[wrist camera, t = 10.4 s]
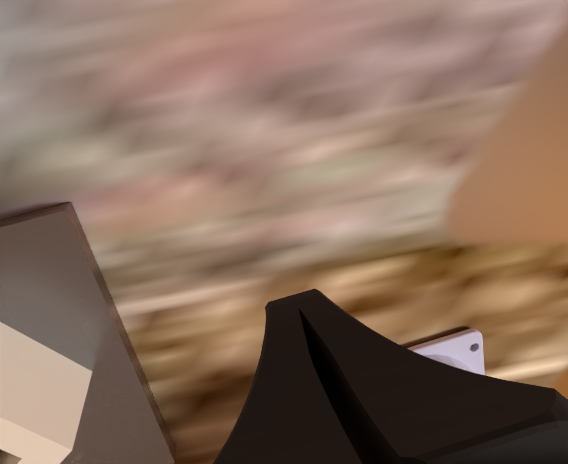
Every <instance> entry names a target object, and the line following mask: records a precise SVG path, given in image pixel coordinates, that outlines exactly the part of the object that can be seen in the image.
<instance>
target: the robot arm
mask: <svg viewBox="0 0 568 464" xmlns="http://www.w3.org/2000/svg"><path fill="white" fill-rule="evenodd" d="M265 310H266V326H265V335H264V340H263V346H262V351H261V356H260V359H259V363H258V367H257V370H256V374H255V377H254V381H253V383H252V386H251V389H250V392H249V395H248V397H247V400H246V402H245V405H244V407H243V409H242V412H241V414H240V416H239V418H238V420H237V422H236V424H235V426H234V428H233V430H232V432H231V434H230V436H229V438H228V440H227V441H226V443H225V445H224V446H223V448H222V450H221V451H220V453H219V455H218V456H217V458H216V459H215V461H214V463H213V464H568V399H566V398H565V397H564V396H562V395H561V394H560V393H559V392H558V391H557V390H555V389H553V388H547V387H541V386H535V385H529V384H524V383H518V382H512V381H506V380H502V379H497V378H493V377H489V376H485V375H484V358H483V340H482V334H481V333H480V332H479V331H478V330H477V329H474V328H472V329H467V330H464V331H461V332H458V333H454V334H451V335H448V336H445V337H441V338H438V339H435V340H432V341H428V342H425V343H422V344H419V345H415V346H412V347H409V348H405V347H403V346H401V345H398V344H396V343H395V342H393V341H391V340H389V339H387V338H385V337H384V336H382V335H380V334H379V333H377V332H375V331H373V330H372V329H370V328H369V327H367V326H366V325H364V324H363V323H361V322H360V321H358V320H357V319H355V318H354V317H352V316H351V315H349V314H348V313H347V312H345V311H344V310H342V309H341V308H340V307H339V306H337V305H336V304H335V303H333V302H332V301H331V300H330V299H328V298H327V297H326V296H325V295H324V294H323V293H321V292H320V291H319V290H317V289H312V290H308V291H305V292H302V293H298V294H295V295H291V296H288V297H284V298H281V299H278V300H274V301H271V302H268V304H267V305H266V307H265ZM473 344H474V345H473ZM471 345H473V346H472V347H471Z"/></svg>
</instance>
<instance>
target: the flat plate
mask: <svg viewBox="0 0 568 464" xmlns="http://www.w3.org/2000/svg"><path fill="white" fill-rule="evenodd" d="M0 322H1V323H3V324H5V325H7V326H9V327H11V328H12V329H14V330H16V331H18V332H20V333H22V334H24V335H25V336H27V337H29V338H31V339H33V340H35V341H37V342H38V343H40V344H42V345H44V346H46V347H48V348H50V349H51V350H53V351H55V352H57V353H59V354H61V355H63V356H64V357H66V358H68V359H70V360H72V361H74V362H76V363H77V364H79V365H81V366H83V367H85V368H87V369H89V370H90V371H92V375H91V379H90V383H89V387H88V391H87V394H86V398H85V402H84V406H83V410H82V414H81V418H80V422H79V425H78V429H77V433H76V437H75V441H74V445H73V449H72V451H71V452H70V453H69V454H68V455H67V456H66V457H65V459H64V460H63V461H62V462H61V463H60V464H174V463H175V446H174V444H173V441H172V439H171V436H170V434H169V432H168V429H167V427H166V425H165V422H164V420H163V418H162V415H161V413H160V411H159V408H158V406H157V404H156V401H155V399H154V396H153V394H152V392H151V389H150V387H149V385H148V382H147V380H146V378H145V375H144V373H143V371H142V368H141V366H140V363H139V361H138V359H137V356H136V354H135V352H134V349H133V347H132V345H131V342H130V340H129V338H128V335H127V333H126V330H125V328H124V326H123V323H122V321H121V319H120V316H119V314H118V312H117V309H116V307H115V305H114V302H113V300H112V298H111V295H110V293H109V290H108V288H107V286H106V283H105V281H104V279H103V276H102V274H101V272H100V269H99V267H98V265H97V262H96V260H95V257H94V255H93V253H92V250H91V248H90V246H89V243H88V241H87V239H86V236H85V234H84V232H83V229H82V227H81V224H80V222H79V220H78V217H77V215H76V213H75V210H74V208H73V206H72V203H71V202H69V203H65V204H61V205H57V206H54V207H50V208H46V209H42V210H38V211H35V212H31V213H27V214H23V215H19V216H16V217H12V218H8V219H4V220H1V221H0Z"/></svg>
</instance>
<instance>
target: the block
mask: <svg viewBox="0 0 568 464" xmlns="http://www.w3.org/2000/svg"><path fill="white" fill-rule="evenodd" d="M91 375H92V371H90V370H89V369H87V368H85V367H83V366H81V365H79V364H77V363H76V362H74V361H72V360H70V359H68V358H66V357H64V356H63V355H61V354H59V353H57V352H55V351H53V350H51V349H50V348H48V347H46V346H44V345H42V344H40V343H38V342H37V341H35V340H33V339H31V338H29V337H27V336H25V335H24V334H22V333H20V332H18V331H16V330H14V329H12V328H11V327H9V326H7V325H5V324H3V323H1V322H0V464H60V463H61V462H62V461H63V460H64V459H65V457H66V456H67V455H68V454H69V453H70V452H71V451H72V449H73V445H74V441H75V437H76V433H77V429H78V425H79V422H80V418H81V414H82V410H83V406H84V402H85V398H86V394H87V391H88V387H89V383H90V379H91Z"/></svg>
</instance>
